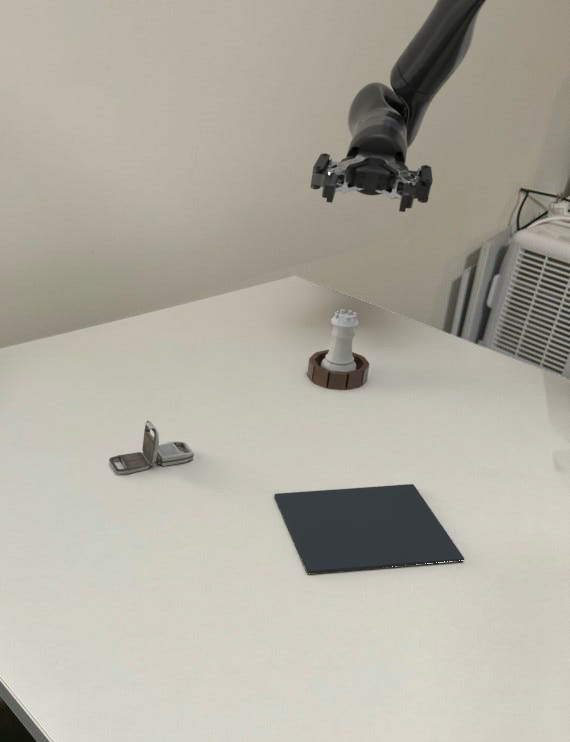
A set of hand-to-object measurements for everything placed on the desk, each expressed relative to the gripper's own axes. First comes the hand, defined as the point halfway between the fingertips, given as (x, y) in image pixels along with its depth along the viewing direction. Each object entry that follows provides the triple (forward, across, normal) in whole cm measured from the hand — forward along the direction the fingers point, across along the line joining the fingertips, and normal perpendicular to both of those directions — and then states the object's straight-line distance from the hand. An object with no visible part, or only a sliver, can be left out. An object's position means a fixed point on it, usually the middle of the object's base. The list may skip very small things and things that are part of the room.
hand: (367, 198), depth 96 cm
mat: (+41, +6, +15) cm, 44 cm away
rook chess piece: (+10, +1, +18) cm, 21 cm away
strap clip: (+35, -16, +16) cm, 42 cm away
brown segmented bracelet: (+10, +1, +18) cm, 21 cm away
